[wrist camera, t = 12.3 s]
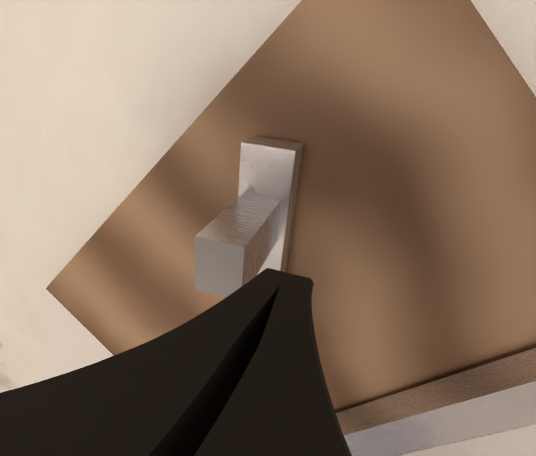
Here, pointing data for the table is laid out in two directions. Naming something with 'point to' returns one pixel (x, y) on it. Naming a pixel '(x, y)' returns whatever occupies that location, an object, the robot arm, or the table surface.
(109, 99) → the table surface
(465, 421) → the tongs frame
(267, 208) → the bar
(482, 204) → the walnut board
